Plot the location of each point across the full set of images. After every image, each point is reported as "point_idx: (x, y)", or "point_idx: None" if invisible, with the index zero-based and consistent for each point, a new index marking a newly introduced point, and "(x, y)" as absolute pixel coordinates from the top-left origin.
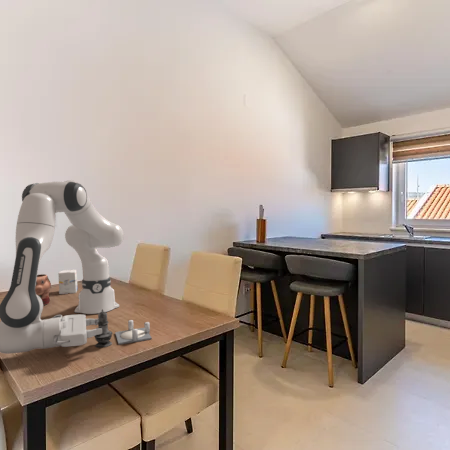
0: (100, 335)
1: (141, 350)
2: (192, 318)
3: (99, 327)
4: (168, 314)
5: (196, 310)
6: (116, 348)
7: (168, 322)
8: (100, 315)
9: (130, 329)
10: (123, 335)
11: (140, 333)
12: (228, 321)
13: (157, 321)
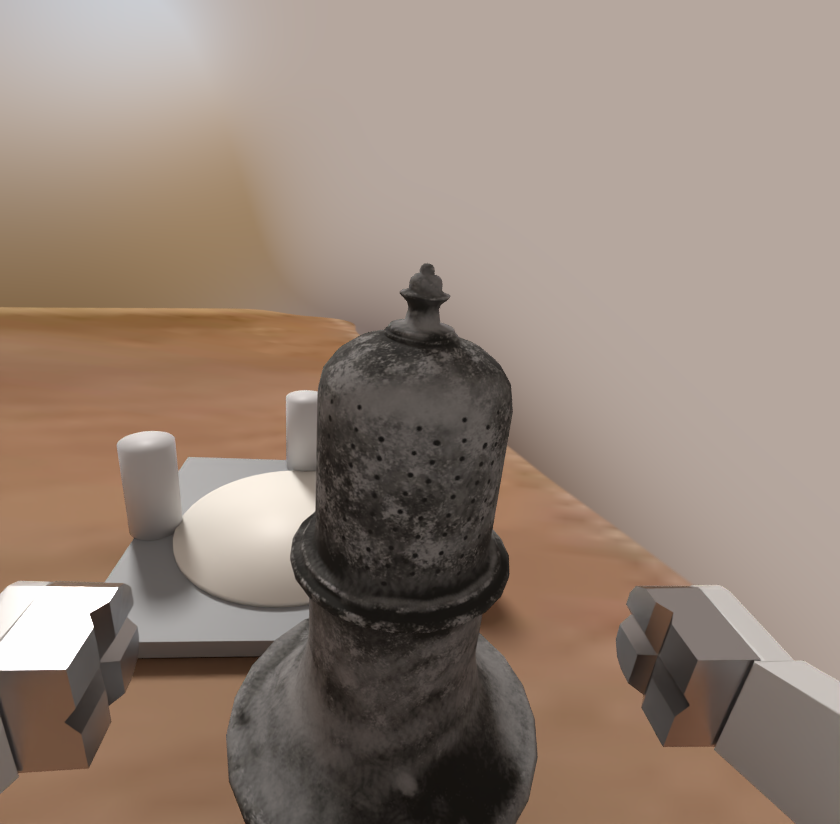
0: (494, 740)
1: (604, 535)
2: (213, 350)
3: (661, 605)
4: (31, 374)
5: (115, 328)
6: (545, 677)
7: (178, 394)
8: (509, 402)
9: (175, 518)
10: (274, 580)
11: (312, 489)
12: (340, 325)
13: (98, 415)
